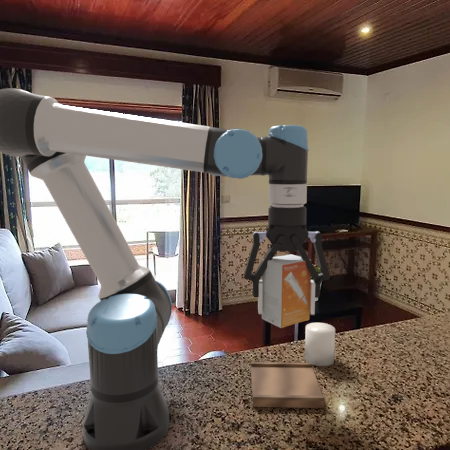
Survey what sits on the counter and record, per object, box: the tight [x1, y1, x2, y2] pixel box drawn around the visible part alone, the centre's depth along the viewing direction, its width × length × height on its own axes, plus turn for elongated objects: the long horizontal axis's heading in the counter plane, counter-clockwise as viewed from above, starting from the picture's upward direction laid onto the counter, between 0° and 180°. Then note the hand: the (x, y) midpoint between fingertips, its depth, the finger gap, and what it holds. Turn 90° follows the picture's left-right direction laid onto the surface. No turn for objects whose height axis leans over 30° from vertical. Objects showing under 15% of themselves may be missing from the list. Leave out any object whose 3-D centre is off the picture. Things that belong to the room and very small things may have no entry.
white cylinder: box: [304, 322, 336, 367], centre depth 97 cm, size 7×9×8 cm
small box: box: [261, 254, 312, 329], centre depth 81 cm, size 8×6×13 cm
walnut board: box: [250, 361, 326, 409], centre depth 84 cm, size 14×14×2 cm
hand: (285, 311), depth 82 cm, fingers closed on small box, 10 cm apart
